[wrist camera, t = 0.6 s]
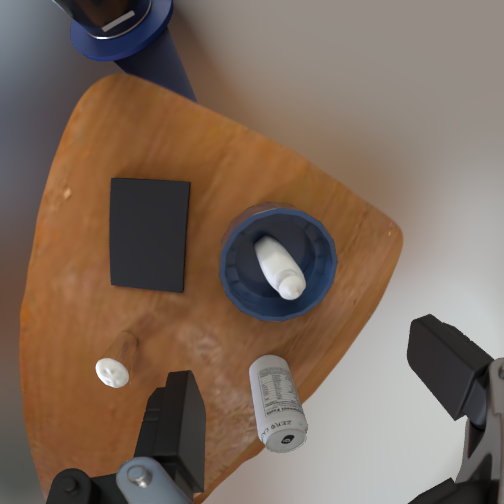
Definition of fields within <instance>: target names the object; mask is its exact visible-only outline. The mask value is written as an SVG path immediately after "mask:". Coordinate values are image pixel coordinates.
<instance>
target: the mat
mask: <svg viewBox="0 0 504 504" xmlns="http://www.w3.org/2000/svg"><path fill="white" fill-rule="evenodd" d="M189 193H190V182H182V181H167V180H150V179H129V178H111V192H110V274H111V285H116V286H124V287H133V288H141V289H151V290H160V291H170V292H180V293H183V290H184V266H185V247H186V231H187V217H188V205H189Z"/></svg>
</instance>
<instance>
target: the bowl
mask: <svg viewBox="0 0 504 504" xmlns="http://www.w3.org/2000/svg"><path fill="white" fill-rule="evenodd" d="M265 235H267V236H270V237H272V238H274V239H276V240H277V241H278V242H280V243H281V244H282V245H283V246H284V248H285V249H286V250H287V251H288V253H289V254H290V255H291V257H292V258H293V260H294V261H295V262H296V264H297V265H298V266H299V268H300V269H301V271H302V273H303V275H304V278H305V282H306V288H305V289H304V290H303V292H302V294H301V295H300V296H299V297H297V298H296V299H292V300H288V299H284V298H283V297H282V296H281V295H280V293H279V292H278V291H277V290H275V289H274V288H273V287H272V286H271V285H270V283H269V282H268V280H267V279H266V277H265V275H264V273H263V271H262V268H261V266H260V263H259V261H258V258H257V255H256V253H255V250H254V245H255V243H256V242H257V241H258V240H260V239H261V238H262V237H263V236H265ZM337 263H338V261H337V255H336V250H335V245H334V241H333V239H332V237H331V236H330V234H329V233H328V231H327V230H326V229H325V227H324V226H323V224H322V223H321V222H320V221H318V220H316V219H315V218H313V217H311V216H310V215H308V214H306V213H305V212H303V211H301V210H300V209H298V208H296V207H294V206H293V205H291V204H284V203H276V202H267V203H264V204H260V205H257V206H253V207H250V208H248V209H247V210H245V211H244V212H243V213H242V214H240V215H239V216H238V217H237V218H235V219H234V220H233V221H232V222H231V224H230V225H229V227H228V229H227V231H226V233H225V235H224V236H223V238H222V241H221V251H220V267H219V276H220V279H221V282H222V284H223V287H224V290H225V293H226V296H227V297H228V298H229V299H230V300H231V301H232V302H233V303H234V304H235V306H236V307H237V308H238V309H239V310H240V311H242V312H243V313H245V314H248V315H250V316H252V317H255V318H257V319H259V320H263V321H285V320H289V319H292V318H295V317H298V316H301V315H303V314H305V313H307V312H308V311H309V310H311V309H312V308H313V307H315V306H316V305H317V304H319V303H320V302H321V301H322V300H323V298H324V297H325V295H326V293H327V292H328V290H329V289H330V287H331V286H332V284H333V282H334V277H335V272H336V268H337Z"/></svg>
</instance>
